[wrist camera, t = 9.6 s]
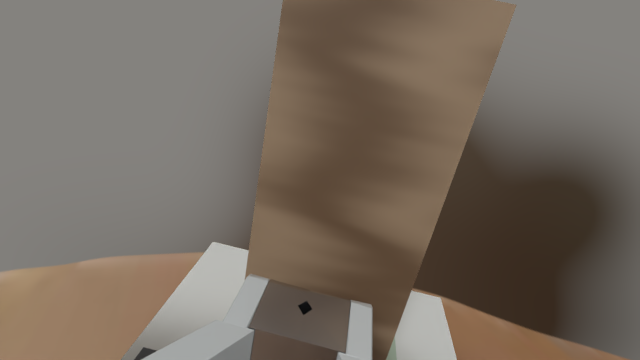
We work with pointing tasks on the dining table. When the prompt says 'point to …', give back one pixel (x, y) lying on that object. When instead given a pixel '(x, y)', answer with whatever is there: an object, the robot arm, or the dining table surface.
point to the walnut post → (367, 142)
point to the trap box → (224, 284)
